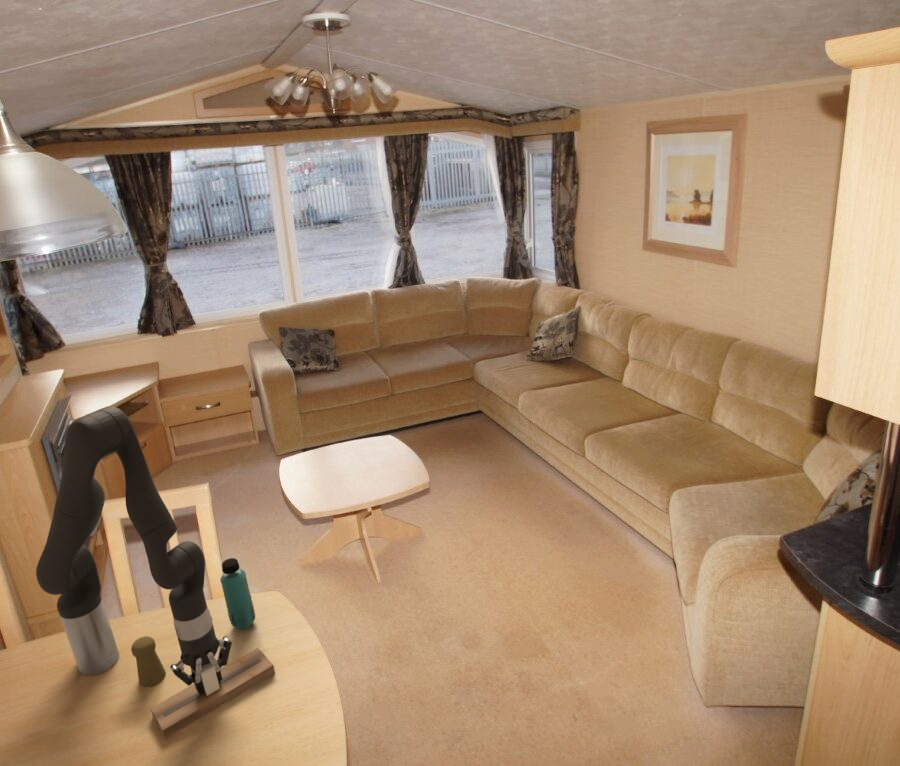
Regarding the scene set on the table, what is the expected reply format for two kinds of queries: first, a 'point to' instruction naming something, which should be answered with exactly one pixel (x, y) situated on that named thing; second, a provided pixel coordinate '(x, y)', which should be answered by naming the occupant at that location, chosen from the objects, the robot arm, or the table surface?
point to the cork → (148, 662)
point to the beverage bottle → (237, 594)
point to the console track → (196, 705)
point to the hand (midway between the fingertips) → (209, 686)
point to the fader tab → (209, 678)
